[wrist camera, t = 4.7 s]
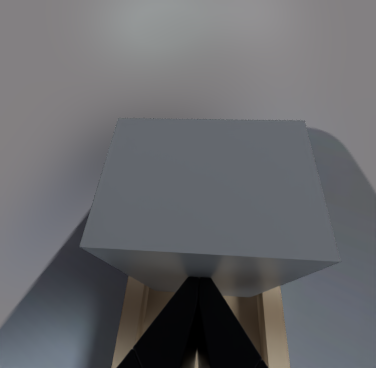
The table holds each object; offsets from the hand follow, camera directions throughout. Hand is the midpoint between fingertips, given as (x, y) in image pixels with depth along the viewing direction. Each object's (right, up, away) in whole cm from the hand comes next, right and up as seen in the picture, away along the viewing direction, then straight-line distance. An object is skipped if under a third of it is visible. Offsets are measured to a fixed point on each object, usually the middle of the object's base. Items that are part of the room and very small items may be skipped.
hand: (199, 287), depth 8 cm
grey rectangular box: (+1, -1, +6) cm, 7 cm away
